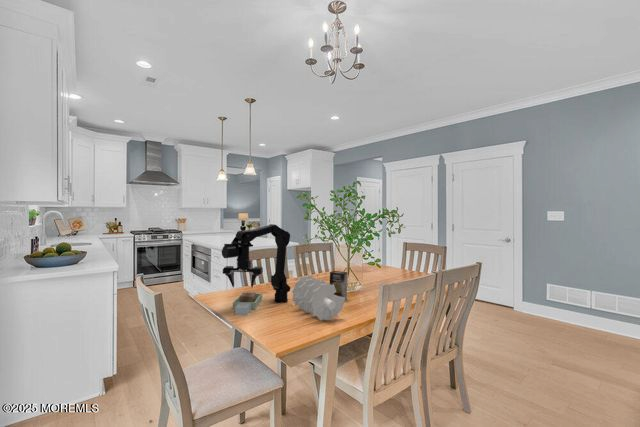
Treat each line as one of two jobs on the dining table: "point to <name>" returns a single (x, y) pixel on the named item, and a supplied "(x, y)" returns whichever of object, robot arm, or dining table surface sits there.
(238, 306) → the gray block
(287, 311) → the dining table surface
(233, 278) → the robot arm
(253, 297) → the walnut block
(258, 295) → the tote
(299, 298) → the spiral staircase
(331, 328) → the dining table surface
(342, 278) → the coffee box
